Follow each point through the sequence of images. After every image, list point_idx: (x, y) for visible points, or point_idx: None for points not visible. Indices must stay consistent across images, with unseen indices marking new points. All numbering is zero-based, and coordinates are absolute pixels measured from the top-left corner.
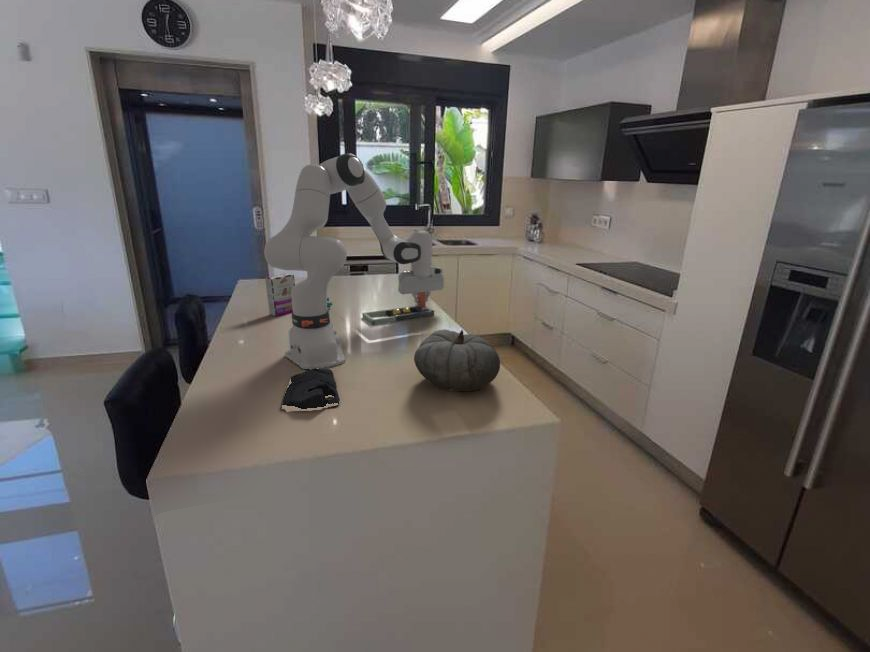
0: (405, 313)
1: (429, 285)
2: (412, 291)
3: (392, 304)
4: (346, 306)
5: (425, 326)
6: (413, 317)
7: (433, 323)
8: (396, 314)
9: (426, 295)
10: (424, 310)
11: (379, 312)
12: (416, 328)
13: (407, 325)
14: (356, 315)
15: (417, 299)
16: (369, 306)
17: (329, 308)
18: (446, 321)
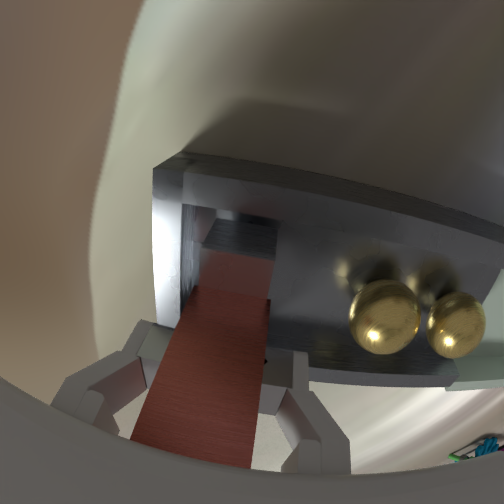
0: (413, 293)
1: (27, 497)
2: (408, 498)
3: (260, 441)
4: (402, 463)
5: (401, 13)
6: (401, 202)
7: (288, 20)
8: (478, 302)
9: (126, 390)
10: (242, 235)
11: (480, 375)
12: (479, 41)
13: (488, 140)
14: (473, 404)
15: (290, 382)
16: (353, 453)
17: (454, 455)
18: (151, 13)
